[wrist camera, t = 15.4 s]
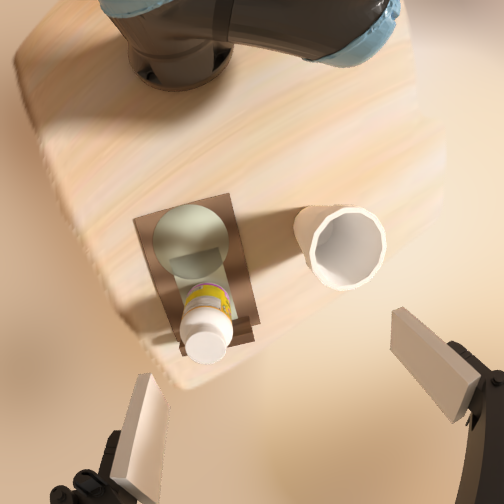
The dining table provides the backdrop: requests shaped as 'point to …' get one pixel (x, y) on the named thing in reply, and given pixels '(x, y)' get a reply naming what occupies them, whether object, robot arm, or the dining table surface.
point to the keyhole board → (199, 260)
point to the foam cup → (341, 244)
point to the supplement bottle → (206, 323)
